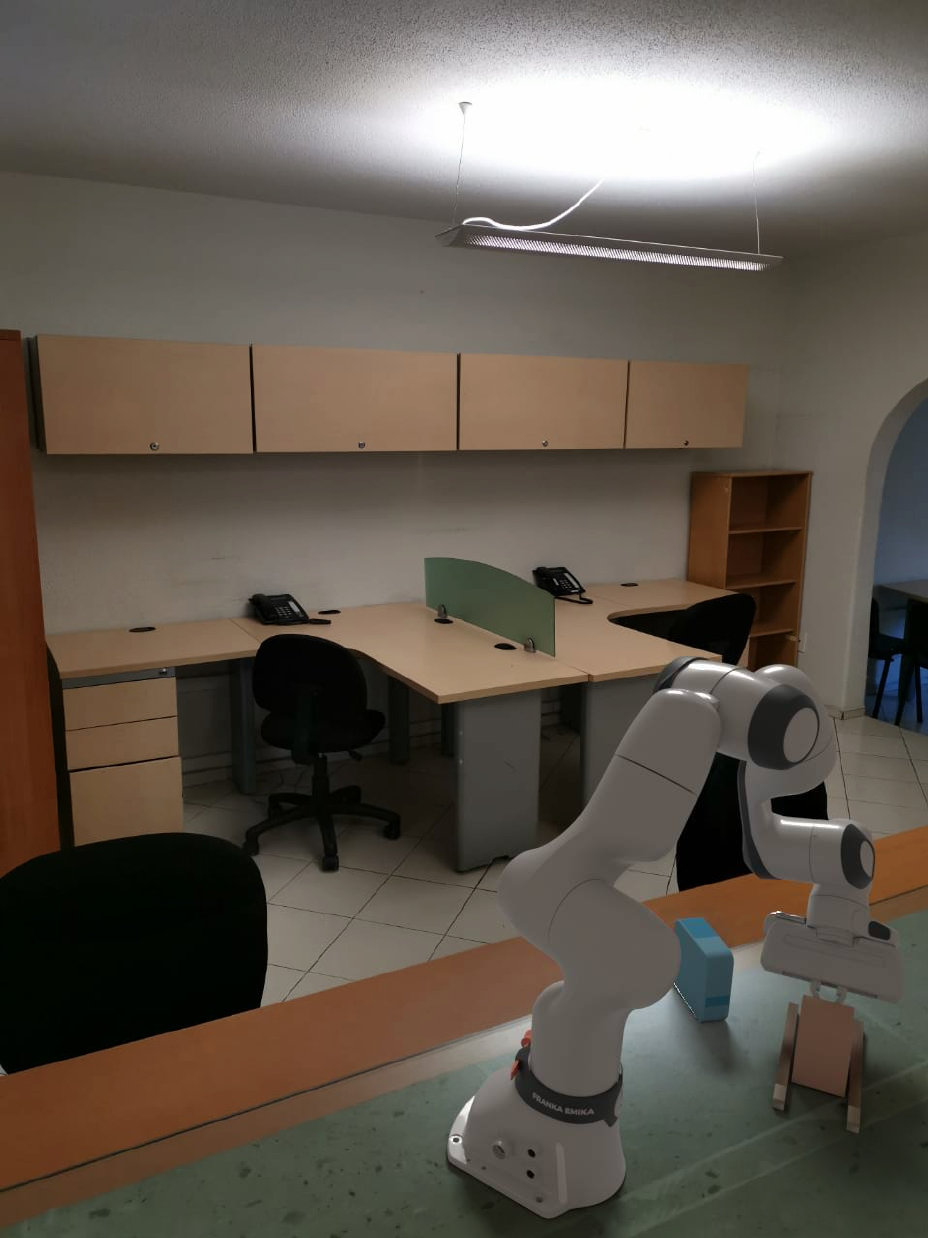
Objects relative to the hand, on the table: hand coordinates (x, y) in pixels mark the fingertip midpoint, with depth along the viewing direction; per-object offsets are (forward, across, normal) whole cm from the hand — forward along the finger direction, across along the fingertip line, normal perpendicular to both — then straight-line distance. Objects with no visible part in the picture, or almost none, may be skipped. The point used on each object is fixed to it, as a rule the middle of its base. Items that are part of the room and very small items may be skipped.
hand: (825, 1017), depth 137 cm
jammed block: (+8, 0, +1) cm, 8 cm away
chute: (+7, 0, +2) cm, 7 cm away
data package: (+1, -19, +8) cm, 20 cm away
